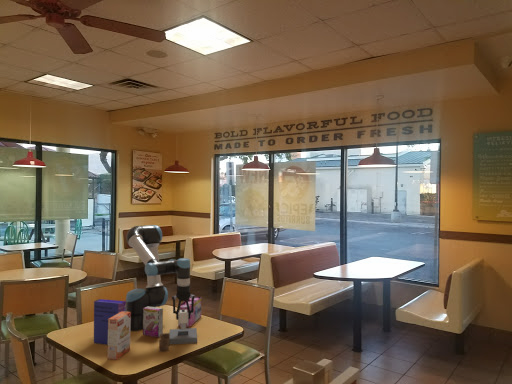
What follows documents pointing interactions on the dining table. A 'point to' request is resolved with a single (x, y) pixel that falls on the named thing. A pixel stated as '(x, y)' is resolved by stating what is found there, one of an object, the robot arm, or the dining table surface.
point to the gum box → (196, 312)
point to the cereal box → (105, 317)
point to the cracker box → (119, 335)
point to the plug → (183, 319)
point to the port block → (183, 336)
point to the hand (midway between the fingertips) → (183, 324)
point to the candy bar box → (152, 321)
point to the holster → (164, 342)
